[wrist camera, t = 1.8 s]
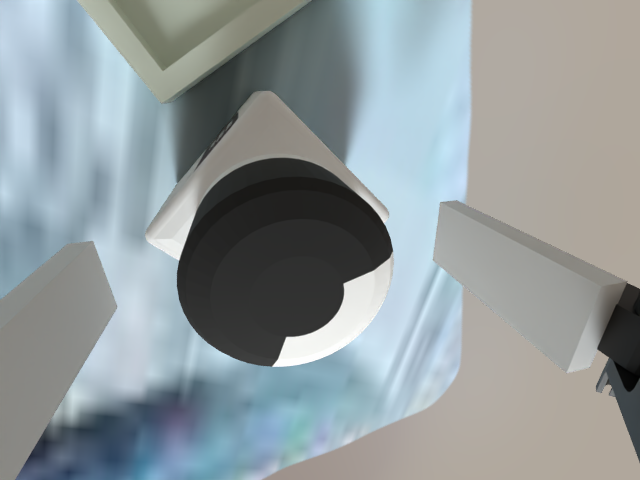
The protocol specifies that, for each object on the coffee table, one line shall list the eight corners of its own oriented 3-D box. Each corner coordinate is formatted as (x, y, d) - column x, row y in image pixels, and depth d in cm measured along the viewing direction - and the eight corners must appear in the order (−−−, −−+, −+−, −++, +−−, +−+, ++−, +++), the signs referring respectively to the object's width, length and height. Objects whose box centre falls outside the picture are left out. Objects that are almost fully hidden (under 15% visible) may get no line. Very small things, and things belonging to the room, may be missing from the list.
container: (173, 187, 19) (77, 330, 8) (256, 87, 18) (289, 80, 6) (270, 256, 23) (303, 425, 11) (345, 176, 21) (469, 274, 10)
